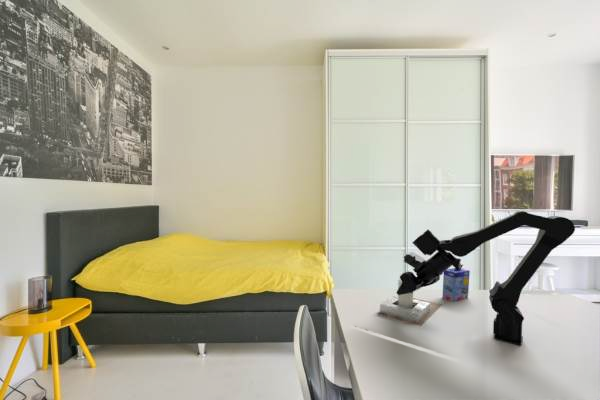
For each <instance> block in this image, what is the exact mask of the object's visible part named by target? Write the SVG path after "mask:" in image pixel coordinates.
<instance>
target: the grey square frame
mask: <svg viewBox="0 0 600 400" xmlns="http://www.w3.org/2000/svg"><path fill="white" fill-rule="evenodd" d="M379 312H380V313H383V314H386V315H390V316H394V317H397V318H401V319H405V320H409V321H412V322H416V323H419V322H420V321H421V320H422V319H423V318H424V317H425V316H426V315H427V314H428V313H429V312H430V303H428V302H423V301H419V300H414V299H413V308H412V309H410V308H406V307H402V306H398V294H394V295H392V296H391V297H389V298H387V299H386V300H384V301H383V302H381V303H380V305H379Z"/></svg>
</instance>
